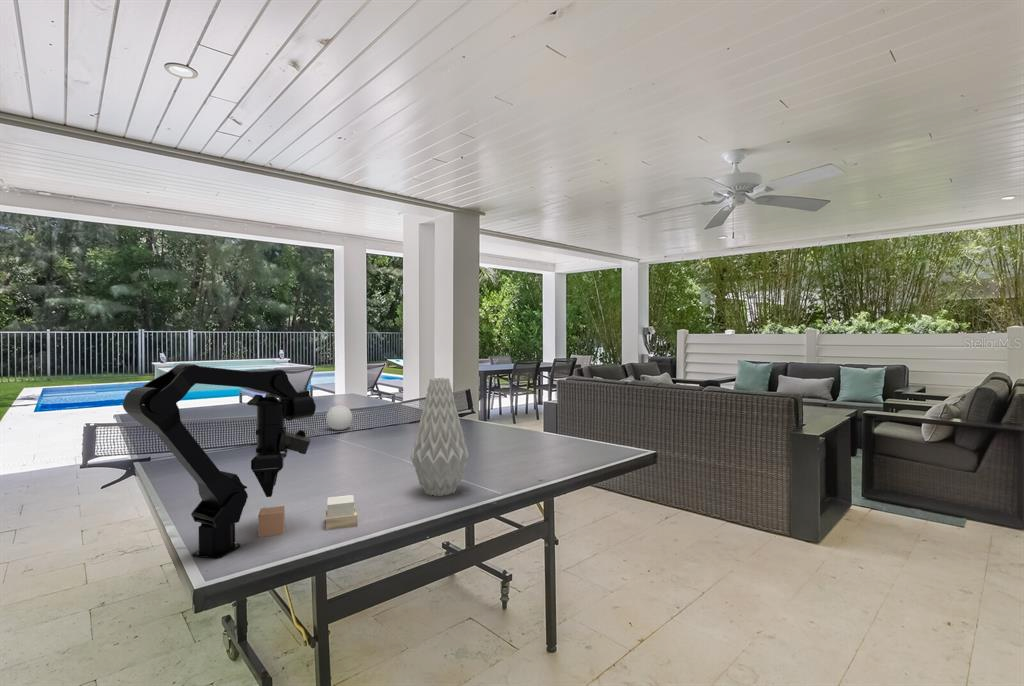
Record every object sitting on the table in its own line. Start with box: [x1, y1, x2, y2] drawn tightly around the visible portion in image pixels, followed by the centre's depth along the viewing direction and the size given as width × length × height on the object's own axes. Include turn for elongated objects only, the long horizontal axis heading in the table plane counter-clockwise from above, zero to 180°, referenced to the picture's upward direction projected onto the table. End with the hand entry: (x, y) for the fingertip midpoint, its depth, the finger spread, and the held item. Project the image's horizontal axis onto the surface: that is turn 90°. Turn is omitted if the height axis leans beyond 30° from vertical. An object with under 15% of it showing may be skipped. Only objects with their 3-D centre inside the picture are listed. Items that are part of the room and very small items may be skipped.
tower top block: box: [326, 494, 355, 518], centre depth 123 cm, size 6×6×3 cm
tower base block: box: [325, 505, 358, 531], centre depth 123 cm, size 7×7×3 cm
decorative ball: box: [326, 404, 353, 431], centre depth 248 cm, size 12×12×12 cm
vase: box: [410, 377, 470, 497], centre depth 147 cm, size 17×17×33 cm
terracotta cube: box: [257, 505, 286, 538], centre depth 117 cm, size 5×5×5 cm
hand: (271, 491), depth 117 cm, fingers open, 9 cm apart
